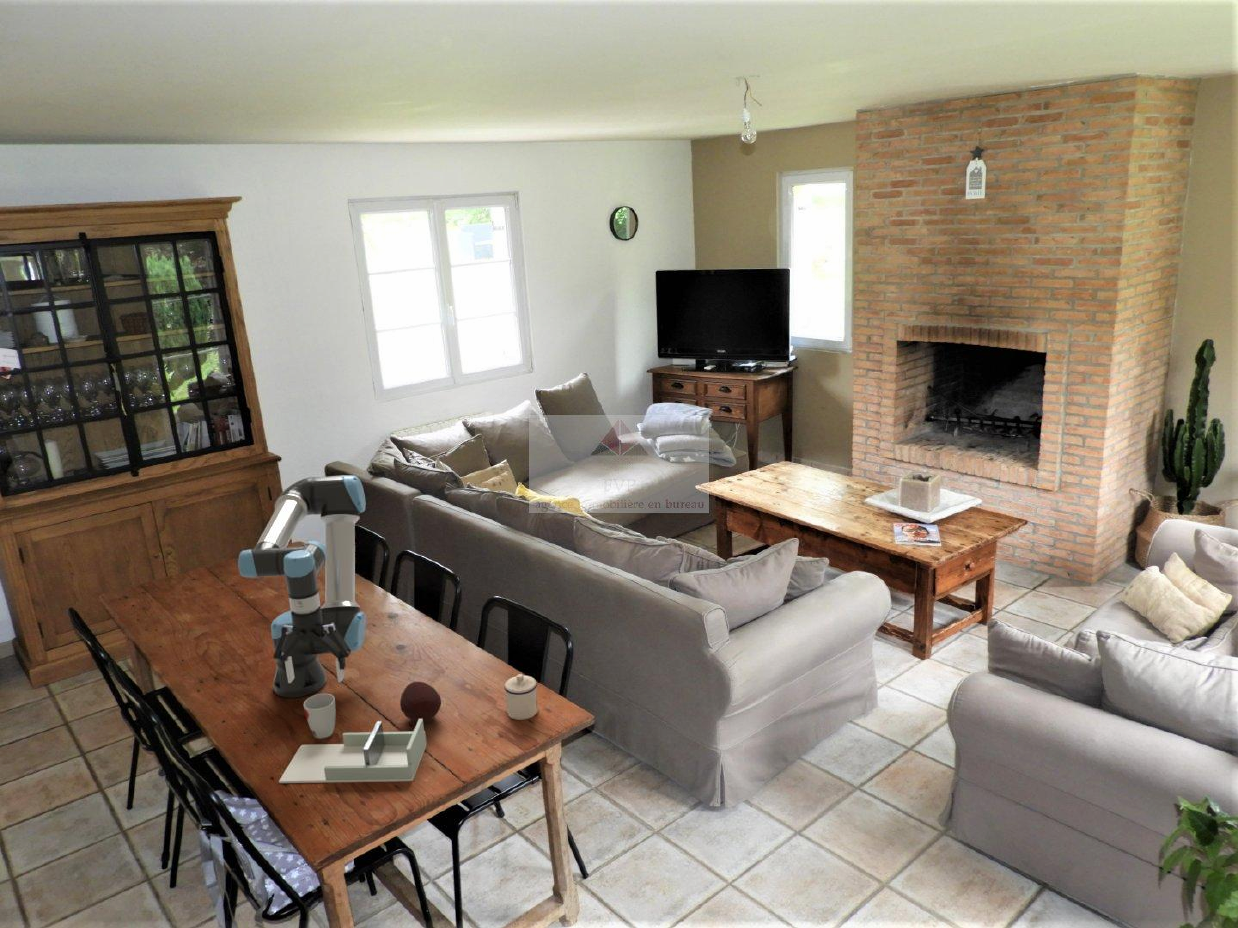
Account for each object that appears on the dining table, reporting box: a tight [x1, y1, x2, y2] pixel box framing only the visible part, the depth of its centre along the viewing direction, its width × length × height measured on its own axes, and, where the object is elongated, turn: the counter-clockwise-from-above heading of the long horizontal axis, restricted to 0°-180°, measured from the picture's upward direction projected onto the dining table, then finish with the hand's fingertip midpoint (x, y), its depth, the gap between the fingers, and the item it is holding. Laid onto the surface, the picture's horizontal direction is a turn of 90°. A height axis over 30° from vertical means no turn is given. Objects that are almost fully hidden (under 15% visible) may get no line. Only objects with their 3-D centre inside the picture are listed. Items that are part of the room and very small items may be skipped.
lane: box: [278, 719, 428, 784], centre depth 233 cm, size 34×16×9 cm, turn 89°
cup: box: [303, 693, 337, 739], centre depth 247 cm, size 8×8×10 cm
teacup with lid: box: [503, 673, 539, 721], centre depth 254 cm, size 12×9×12 cm
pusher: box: [363, 720, 385, 765], centre depth 233 cm, size 1×13×8 cm, turn 178°
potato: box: [399, 681, 442, 724], centre depth 252 cm, size 11×13×10 cm
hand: (316, 680), depth 243 cm, fingers open, 13 cm apart
